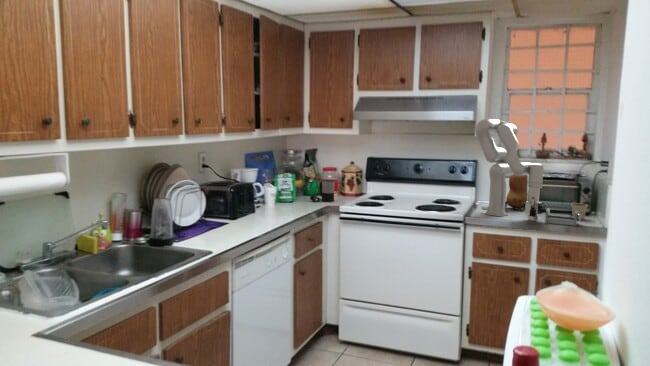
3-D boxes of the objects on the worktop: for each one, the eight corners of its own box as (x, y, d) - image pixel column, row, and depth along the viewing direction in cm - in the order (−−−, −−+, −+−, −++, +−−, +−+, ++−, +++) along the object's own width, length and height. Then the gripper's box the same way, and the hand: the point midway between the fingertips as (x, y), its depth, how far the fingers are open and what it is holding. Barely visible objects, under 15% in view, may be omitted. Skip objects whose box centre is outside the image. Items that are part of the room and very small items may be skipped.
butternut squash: (501, 207, 342) (503, 170, 339) (518, 207, 346) (520, 170, 343) (515, 211, 329) (518, 172, 326) (532, 210, 333) (535, 172, 330)
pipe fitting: (545, 222, 295) (545, 210, 294) (546, 219, 303) (547, 208, 302) (579, 226, 286) (580, 213, 285) (580, 223, 295) (581, 211, 294)
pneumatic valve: (539, 222, 294) (541, 201, 293) (520, 219, 303) (522, 198, 302) (544, 221, 298) (546, 201, 297) (525, 218, 307) (527, 198, 305)
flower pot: (589, 220, 303) (590, 206, 302) (572, 219, 305) (573, 205, 304) (584, 217, 312) (585, 203, 311) (567, 216, 314) (568, 202, 313)
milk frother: (337, 201, 359) (337, 180, 357) (323, 203, 347) (323, 182, 345) (321, 198, 368) (321, 178, 366) (307, 201, 356) (307, 180, 354)
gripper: (530, 182, 307) (528, 212, 309) (526, 186, 292) (524, 217, 294) (543, 183, 303) (541, 213, 306) (540, 187, 288) (538, 218, 291)
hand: (533, 215), depth 300 cm, fingers closed on pneumatic valve, 6 cm apart
